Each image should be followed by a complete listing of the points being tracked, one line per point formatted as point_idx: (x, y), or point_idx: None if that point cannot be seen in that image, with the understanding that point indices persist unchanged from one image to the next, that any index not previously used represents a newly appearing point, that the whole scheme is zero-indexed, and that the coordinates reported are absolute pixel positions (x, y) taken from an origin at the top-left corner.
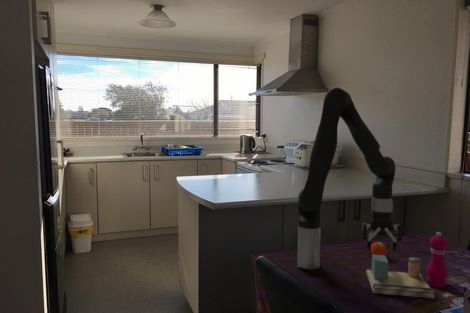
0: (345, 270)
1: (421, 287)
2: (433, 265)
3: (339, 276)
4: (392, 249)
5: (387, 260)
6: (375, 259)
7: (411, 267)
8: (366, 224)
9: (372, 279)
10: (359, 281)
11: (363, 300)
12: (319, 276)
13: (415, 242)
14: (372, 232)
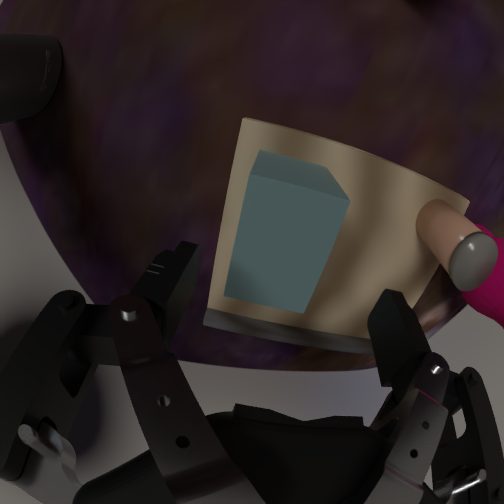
0: (150, 85)
1: (361, 349)
2: (485, 309)
3: (112, 161)
4: (372, 328)
5: (311, 293)
6: (237, 272)
7: (437, 256)
8: (36, 491)
9: (228, 242)
10: (182, 210)
11: None
12: (54, 170)
13: None
14: (158, 402)
